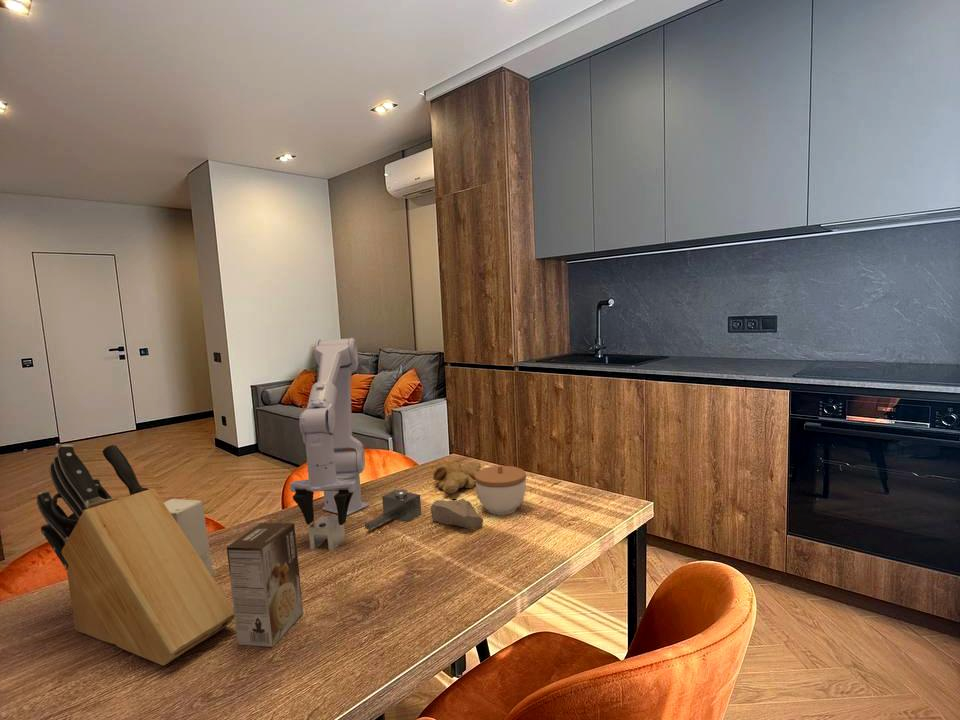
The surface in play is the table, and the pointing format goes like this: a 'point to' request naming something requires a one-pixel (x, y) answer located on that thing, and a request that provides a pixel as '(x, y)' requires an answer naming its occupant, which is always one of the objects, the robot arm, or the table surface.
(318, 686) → the table surface
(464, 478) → the ginger root
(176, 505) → the skincare box
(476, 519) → the concrete fragment
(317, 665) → the table surface
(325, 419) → the robot arm
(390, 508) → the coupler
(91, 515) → the knife block
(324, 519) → the notched block with hole
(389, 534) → the table surface
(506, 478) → the lidded bowl
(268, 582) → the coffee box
